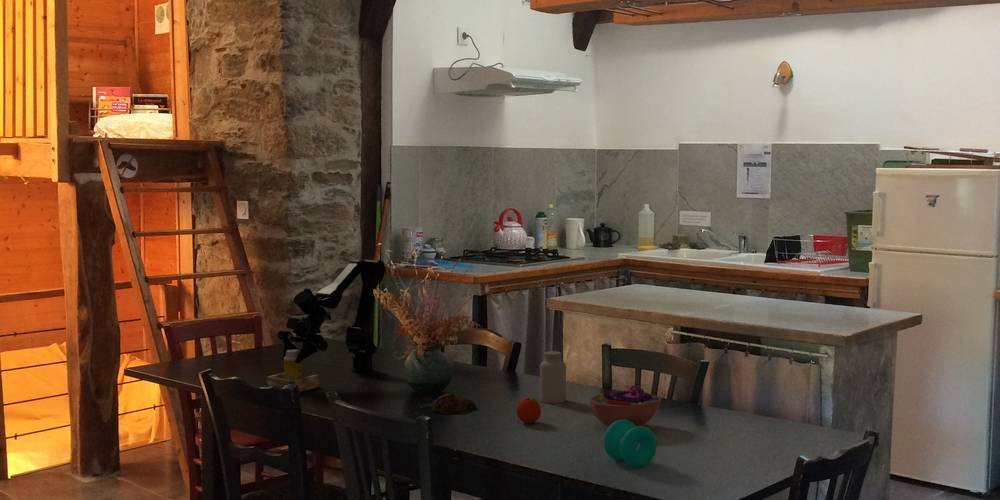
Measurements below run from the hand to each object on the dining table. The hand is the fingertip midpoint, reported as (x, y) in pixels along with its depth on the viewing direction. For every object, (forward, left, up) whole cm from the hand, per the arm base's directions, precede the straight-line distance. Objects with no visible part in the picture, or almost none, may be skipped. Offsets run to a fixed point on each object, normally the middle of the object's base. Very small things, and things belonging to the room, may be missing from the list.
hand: (289, 361), depth 331 cm
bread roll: (-36, +48, -9) cm, 61 cm away
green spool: (-54, +117, -9) cm, 130 cm away
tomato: (-50, +72, -9) cm, 89 cm away
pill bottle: (-68, +52, -9) cm, 86 cm away
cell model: (-71, +88, -9) cm, 114 cm away
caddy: (-1, -1, -9) cm, 9 cm away
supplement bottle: (-1, -1, -7) cm, 7 cm away
